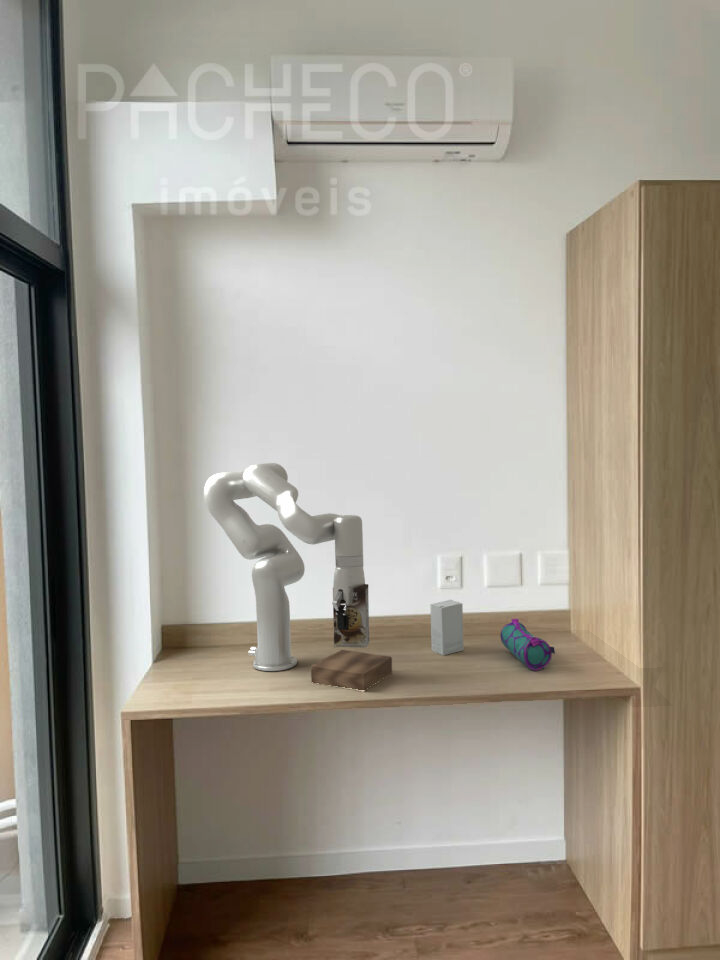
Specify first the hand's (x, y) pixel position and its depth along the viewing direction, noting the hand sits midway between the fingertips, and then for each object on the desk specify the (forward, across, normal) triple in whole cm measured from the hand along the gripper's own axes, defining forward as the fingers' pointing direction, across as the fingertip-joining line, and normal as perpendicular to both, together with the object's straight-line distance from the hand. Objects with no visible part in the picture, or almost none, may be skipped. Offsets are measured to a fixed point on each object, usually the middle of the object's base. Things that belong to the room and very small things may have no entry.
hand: (351, 625), depth 191 cm
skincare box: (+15, -33, +14) cm, 39 cm away
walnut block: (+15, 0, 0) cm, 15 cm away
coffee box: (+5, 0, 0) cm, 5 cm away
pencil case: (+15, -35, +37) cm, 53 cm away
